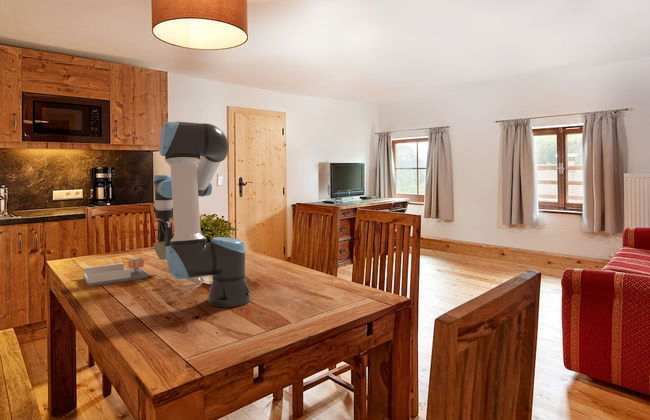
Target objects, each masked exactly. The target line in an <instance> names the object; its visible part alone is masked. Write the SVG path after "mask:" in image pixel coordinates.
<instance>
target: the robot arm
mask: <svg viewBox="0 0 650 420" xmlns="http://www.w3.org/2000/svg"><path fill="white" fill-rule="evenodd" d="M159 137H160V138H159V145H158V146H159V155H160V156H162V157H164V159H165V160H164V161H165V162H166V164H168V165H169V167H170V174H155V175H154V176H153V188H154V190H153V191H154V209H155V211H154V212H155V213H154V215H155V218H156V219H158V220H157V241H158V242H166V244H165V246H166V260H165V261H166V262H167V263H166V264H167V266H168V270H169V272H170V273H169V274H170V275H171V276H172V278H173V279H175V280H189V279H193V278H195V279H196V278H202V277H208V276H209V277H210V276H212V281H211V285H210V288H209V291H208V294H207V295H208V296H207V303H208V304H209V305H210V306H212V307H217V308H234V307H240V306H244V305H246V304H247V303H249V302H250V301H251V292H250V288H249V286H248V283H247V281H246V249H245V248H246V247H245V246H246V245H245V242H244V241H243V240H241V239H240V238H234V237H228V236H226V237H225V236H224V237H223V236H216V237H212V238H211V240H210V242H207V239H206V237H205V236H204V235H203V234H202V230H201V229H202V228H201V216H200V203H199V202H200V201H199V197H209V196H211V194H212V192H213V184H212V179H213V177H214V175H215V173H216V172H217V170H218V167H219V166H220V163H222V162H224V160H226V158H227V156H228V153H229V150H230V147H229V146H230V144H229V140H228V138H227V136H226V135H225V132H224V131H222V130H221V129H220V127H218V126H216V125H214V124H211V123H205V122H203V123H202V122H201V123H199V122H189V121H178V120H177V121H166V122H165V123H164V124H163V125H162V127H161V131H160V136H159ZM172 218H173V222H171V221H170V219H172ZM173 229H174V234H173Z"/></svg>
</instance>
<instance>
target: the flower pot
mask: <svg viewBox="0 0 650 420" xmlns="http://www.w3.org/2000/svg"><path fill="white" fill-rule="evenodd" d="M165 244H166V242H159V241H158V242H155V243H153V249H154V251H155V254H156V256H157V257H158V259H159V260H162V261H166V246H165Z"/></svg>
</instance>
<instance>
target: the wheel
mask: <svg viewBox="0 0 650 420" xmlns="http://www.w3.org/2000/svg"><path fill="white" fill-rule="evenodd" d="M144 266H145V259H144V258H143V257H139V256H134V257H131V258H129V259H127V267H128V269H134V268H143V267H144Z"/></svg>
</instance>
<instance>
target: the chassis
mask: <svg viewBox="0 0 650 420" xmlns="http://www.w3.org/2000/svg"><path fill="white" fill-rule="evenodd" d="M83 271H84V272H83V280H84V282H85V283H86V285H87V287H93V286H99V285H101V286H102V285H106V284H107V285H108V284H113V283H114V284H115V283H122V282H127V281H134V280H141V279H147V278H149V274H148V273H147V272H145V270H143V269H142V267H140V268H126V267H125V264H124V262H120V263H111V264H105V265H97V266H89V267H88V266H87V267H84V268H83Z"/></svg>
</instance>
